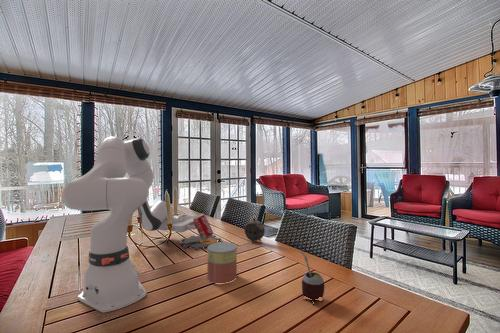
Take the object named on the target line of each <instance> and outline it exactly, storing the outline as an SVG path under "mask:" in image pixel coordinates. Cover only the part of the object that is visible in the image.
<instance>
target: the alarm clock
mask: <svg viewBox="0 0 500 333" xmlns="http://www.w3.org/2000/svg"><path fill="white" fill-rule="evenodd" d="M254 214H255V217H253V215H254ZM250 217H251V218H252V220H250V221H248V222H247V223H246V224H245V226H244V234H245V236H246V238H247V240H248V239H249V241H253V242H257V241H259V242H260V241H261V242H262V240H261V239H262V238H264V235H265V230H266V229H265V226H264V225H263V223H262V222H261V221H260V220H257V218H258V214H257V213H255V212H253V213H252V214H251V216H250Z"/></svg>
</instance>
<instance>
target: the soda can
mask: <svg viewBox="0 0 500 333" xmlns="http://www.w3.org/2000/svg"><path fill="white" fill-rule="evenodd" d="M193 219H194V224H195V225H196V230H197V232H198V236H200V237H201V239H203V240H206V239H208V238H210V237H211V236H213V235H214V232H213V230H212V229H213V228H212V227H211V225H210V222H209V220H208V218H207V216H206V215H205V213H199V214H197V215H195V216H194V218H193Z"/></svg>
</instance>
